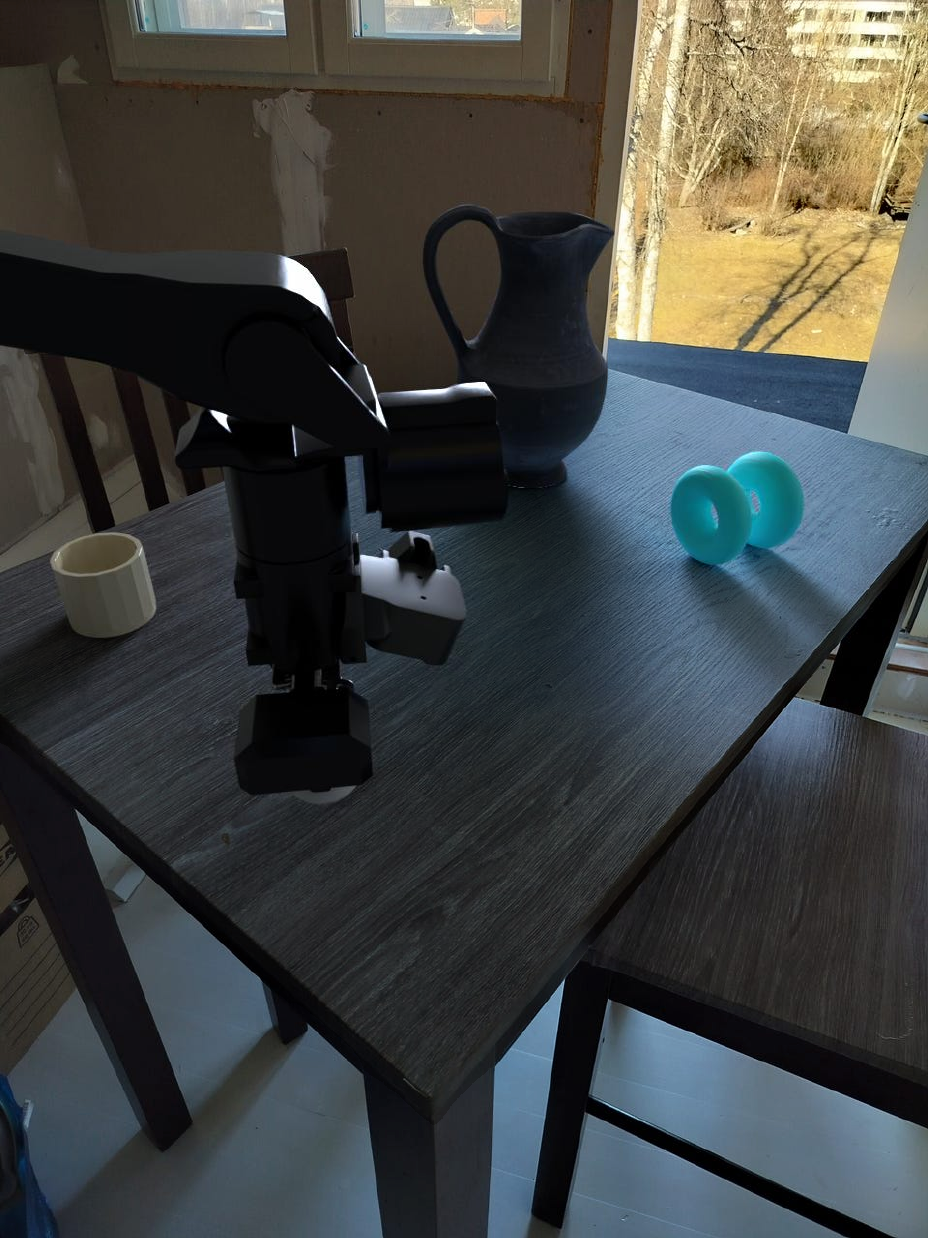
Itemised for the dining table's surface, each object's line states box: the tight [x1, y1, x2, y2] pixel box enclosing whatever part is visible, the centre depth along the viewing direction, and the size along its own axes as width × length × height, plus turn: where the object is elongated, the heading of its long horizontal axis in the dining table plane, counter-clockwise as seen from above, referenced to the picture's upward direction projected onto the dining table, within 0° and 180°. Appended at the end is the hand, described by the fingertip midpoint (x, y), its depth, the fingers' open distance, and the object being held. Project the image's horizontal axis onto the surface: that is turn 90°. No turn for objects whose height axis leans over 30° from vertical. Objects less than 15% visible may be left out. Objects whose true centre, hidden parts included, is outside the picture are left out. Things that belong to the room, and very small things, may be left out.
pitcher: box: [422, 204, 615, 489], centre depth 95 cm, size 17×21×30 cm
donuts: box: [669, 451, 805, 566], centre depth 86 cm, size 10×10×10 cm
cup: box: [49, 531, 157, 639], centre depth 77 cm, size 8×8×6 cm
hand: (321, 762), depth 51 cm, fingers closed on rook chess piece, 4 cm apart
